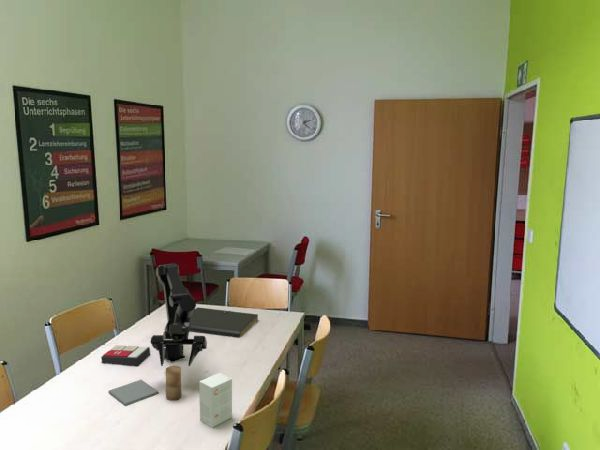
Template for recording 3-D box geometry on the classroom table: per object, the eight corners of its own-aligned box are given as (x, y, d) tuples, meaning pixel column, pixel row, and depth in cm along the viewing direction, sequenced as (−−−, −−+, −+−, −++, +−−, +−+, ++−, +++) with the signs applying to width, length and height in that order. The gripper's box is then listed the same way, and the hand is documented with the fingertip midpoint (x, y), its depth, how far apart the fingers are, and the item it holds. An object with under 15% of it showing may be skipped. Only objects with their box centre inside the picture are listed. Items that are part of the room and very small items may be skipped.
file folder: (258, 313, 239) (239, 331, 216) (258, 321, 239) (239, 340, 216) (197, 306, 247) (173, 322, 224) (197, 314, 248) (173, 331, 225)
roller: (176, 391, 167) (175, 364, 165) (184, 396, 163) (183, 369, 162) (163, 396, 163) (162, 368, 162) (171, 402, 160) (170, 373, 158)
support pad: (141, 381, 173) (141, 379, 173) (158, 393, 165) (158, 391, 165) (108, 392, 165) (108, 390, 165) (125, 406, 157) (125, 403, 156)
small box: (219, 410, 155) (219, 372, 153) (232, 417, 151) (232, 378, 149) (199, 420, 149) (198, 380, 147) (212, 428, 145) (212, 387, 143)
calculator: (115, 344, 198) (150, 345, 196) (116, 354, 198) (150, 355, 196) (100, 355, 187) (136, 356, 185) (101, 365, 188) (137, 367, 185)
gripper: (151, 313, 167) (142, 356, 158) (205, 313, 168) (199, 357, 158) (157, 326, 176) (149, 368, 167) (209, 327, 177) (204, 369, 167)
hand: (175, 365), depth 165 cm, fingers open, 9 cm apart
